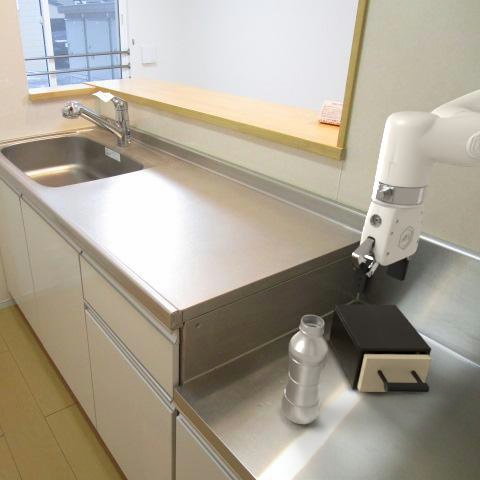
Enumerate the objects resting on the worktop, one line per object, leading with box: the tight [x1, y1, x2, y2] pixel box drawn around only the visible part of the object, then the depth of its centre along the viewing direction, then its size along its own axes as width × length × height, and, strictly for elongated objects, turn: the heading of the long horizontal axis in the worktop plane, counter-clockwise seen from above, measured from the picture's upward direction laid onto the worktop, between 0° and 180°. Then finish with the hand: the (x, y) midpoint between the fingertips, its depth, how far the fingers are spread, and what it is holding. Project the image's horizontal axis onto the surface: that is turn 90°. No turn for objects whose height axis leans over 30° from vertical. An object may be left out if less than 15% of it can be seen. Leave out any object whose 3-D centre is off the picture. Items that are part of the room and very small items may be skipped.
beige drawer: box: [357, 352, 432, 393], centre depth 86 cm, size 18×11×8 cm, turn 178°
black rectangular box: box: [328, 304, 432, 390], centre depth 90 cm, size 15×13×10 cm
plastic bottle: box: [281, 314, 330, 425], centre depth 76 cm, size 6×7×20 cm
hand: (378, 285), depth 79 cm, fingers open, 9 cm apart
